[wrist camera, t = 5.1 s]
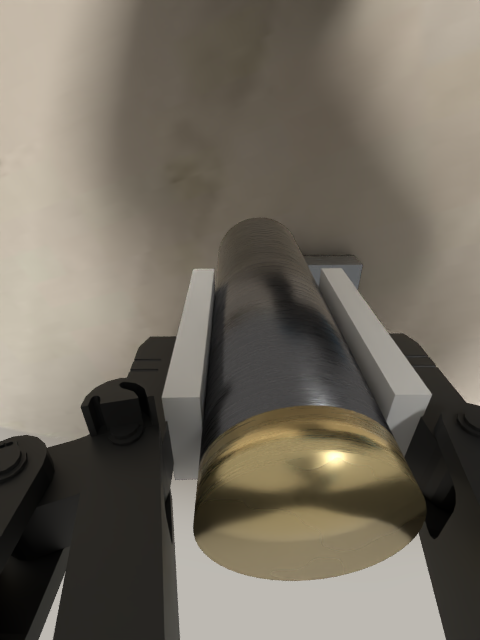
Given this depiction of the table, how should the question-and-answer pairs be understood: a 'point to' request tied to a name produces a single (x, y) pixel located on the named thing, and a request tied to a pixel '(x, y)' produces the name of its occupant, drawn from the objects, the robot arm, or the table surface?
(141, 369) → the robot arm
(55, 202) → the table surface
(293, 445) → the pin
